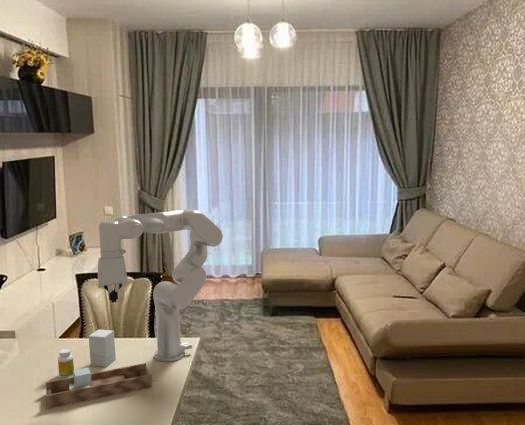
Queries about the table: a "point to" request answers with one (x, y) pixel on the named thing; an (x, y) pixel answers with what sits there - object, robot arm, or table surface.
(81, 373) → the block
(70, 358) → the supplement bottle
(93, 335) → the supplement box
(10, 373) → the table surface
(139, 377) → the box
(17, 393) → the table surface
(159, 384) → the table surface
